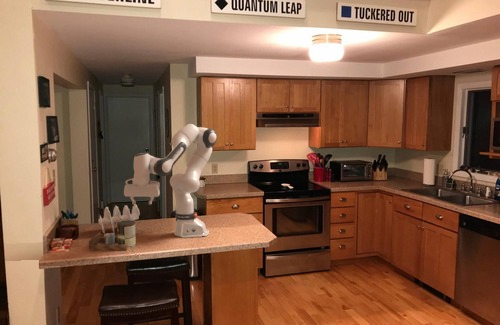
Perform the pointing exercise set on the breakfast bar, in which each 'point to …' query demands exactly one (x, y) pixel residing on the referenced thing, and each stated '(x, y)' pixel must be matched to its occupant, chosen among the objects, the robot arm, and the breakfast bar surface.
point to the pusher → (110, 238)
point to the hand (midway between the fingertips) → (142, 204)
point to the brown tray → (98, 239)
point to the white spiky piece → (118, 216)
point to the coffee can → (126, 233)
